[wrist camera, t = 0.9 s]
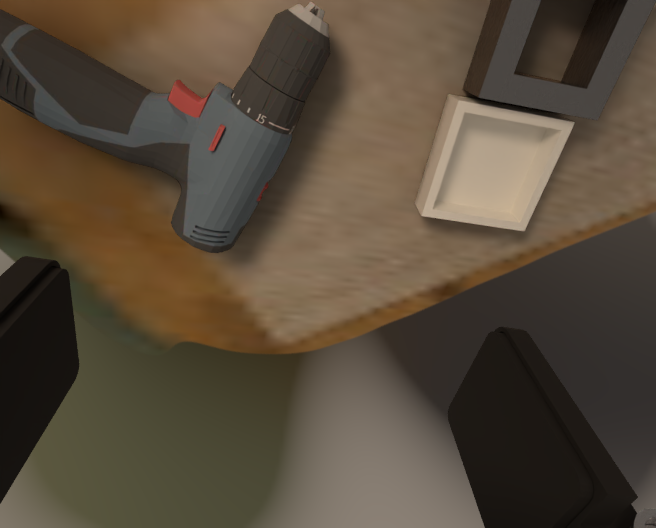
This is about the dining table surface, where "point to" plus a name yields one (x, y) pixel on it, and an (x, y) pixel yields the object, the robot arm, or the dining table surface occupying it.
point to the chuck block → (583, 69)
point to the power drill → (177, 116)
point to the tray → (490, 162)
